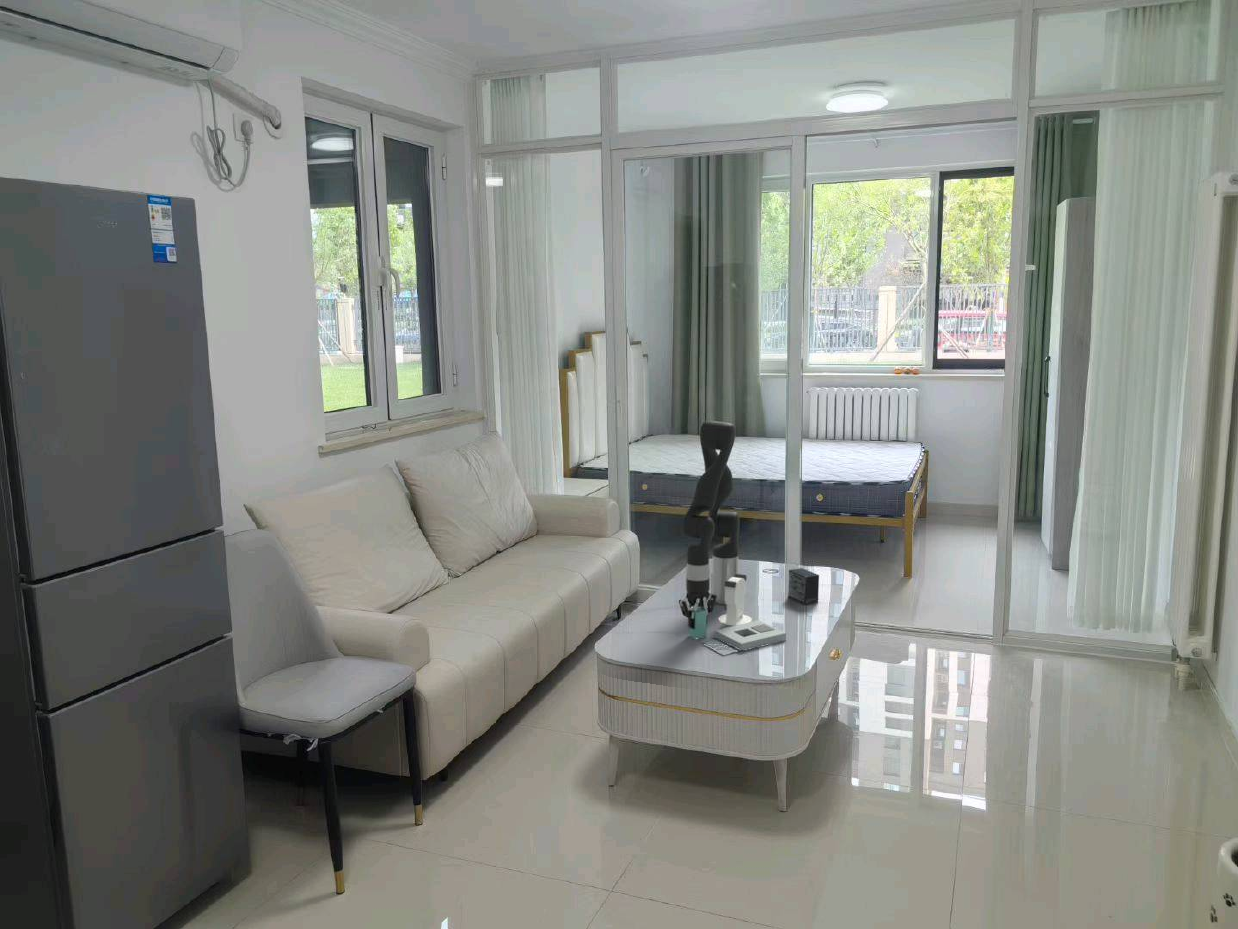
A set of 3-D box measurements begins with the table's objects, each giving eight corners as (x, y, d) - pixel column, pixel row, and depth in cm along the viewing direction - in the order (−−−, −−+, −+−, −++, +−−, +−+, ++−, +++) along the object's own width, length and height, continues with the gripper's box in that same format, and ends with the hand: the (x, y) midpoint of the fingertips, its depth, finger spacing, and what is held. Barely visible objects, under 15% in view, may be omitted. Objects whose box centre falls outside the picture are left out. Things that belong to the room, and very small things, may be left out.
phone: (723, 657, 288) (723, 654, 288) (700, 645, 298) (700, 642, 298) (738, 653, 291) (738, 650, 291) (716, 642, 301) (716, 638, 301)
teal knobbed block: (689, 635, 305) (689, 607, 304) (699, 633, 307) (699, 605, 306) (696, 639, 302) (696, 611, 300) (706, 637, 304) (706, 608, 302)
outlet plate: (714, 637, 303) (714, 629, 303) (758, 627, 312) (758, 619, 312) (741, 651, 291) (741, 643, 291) (786, 640, 300) (786, 632, 300)
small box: (819, 602, 336) (820, 574, 335) (804, 605, 334) (805, 577, 332) (801, 594, 346) (802, 567, 344) (787, 597, 343) (788, 569, 341)
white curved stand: (726, 612, 327) (727, 571, 325) (757, 617, 322) (757, 575, 319) (713, 622, 317) (713, 580, 314) (744, 628, 312) (745, 584, 309)
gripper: (709, 570, 308) (708, 619, 311) (673, 577, 301) (673, 627, 304) (722, 575, 301) (722, 626, 304) (686, 583, 294) (686, 634, 297)
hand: (697, 626), depth 304 cm, fingers closed on teal knobbed block, 4 cm apart
